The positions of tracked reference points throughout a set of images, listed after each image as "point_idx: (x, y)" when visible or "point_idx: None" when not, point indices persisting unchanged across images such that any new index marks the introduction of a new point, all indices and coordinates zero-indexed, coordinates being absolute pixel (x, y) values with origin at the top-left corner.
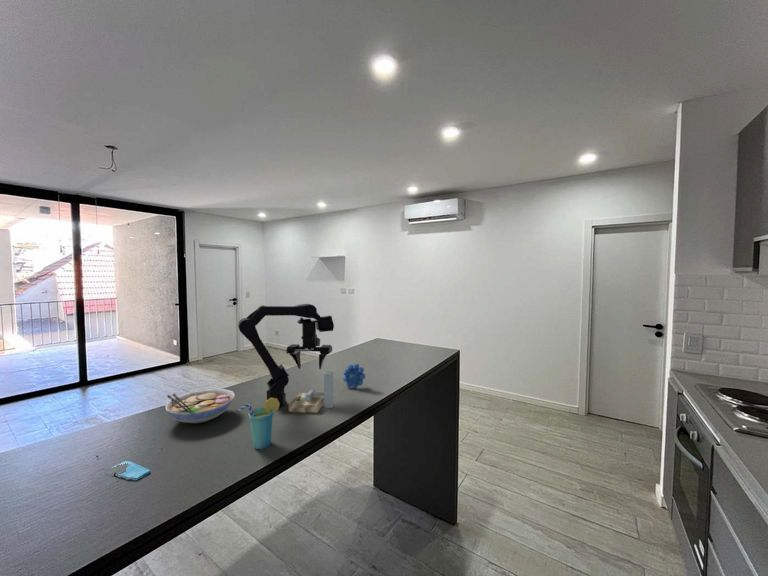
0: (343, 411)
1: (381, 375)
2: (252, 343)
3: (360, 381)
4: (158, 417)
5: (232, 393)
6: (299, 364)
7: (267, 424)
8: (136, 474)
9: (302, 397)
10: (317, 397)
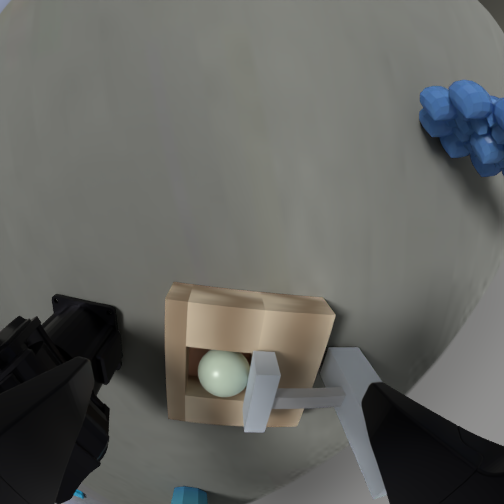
0: (383, 382)
1: (488, 32)
2: None
3: (494, 174)
4: None
5: None
6: (73, 422)
7: None
8: (75, 494)
9: (216, 395)
10: (292, 363)
